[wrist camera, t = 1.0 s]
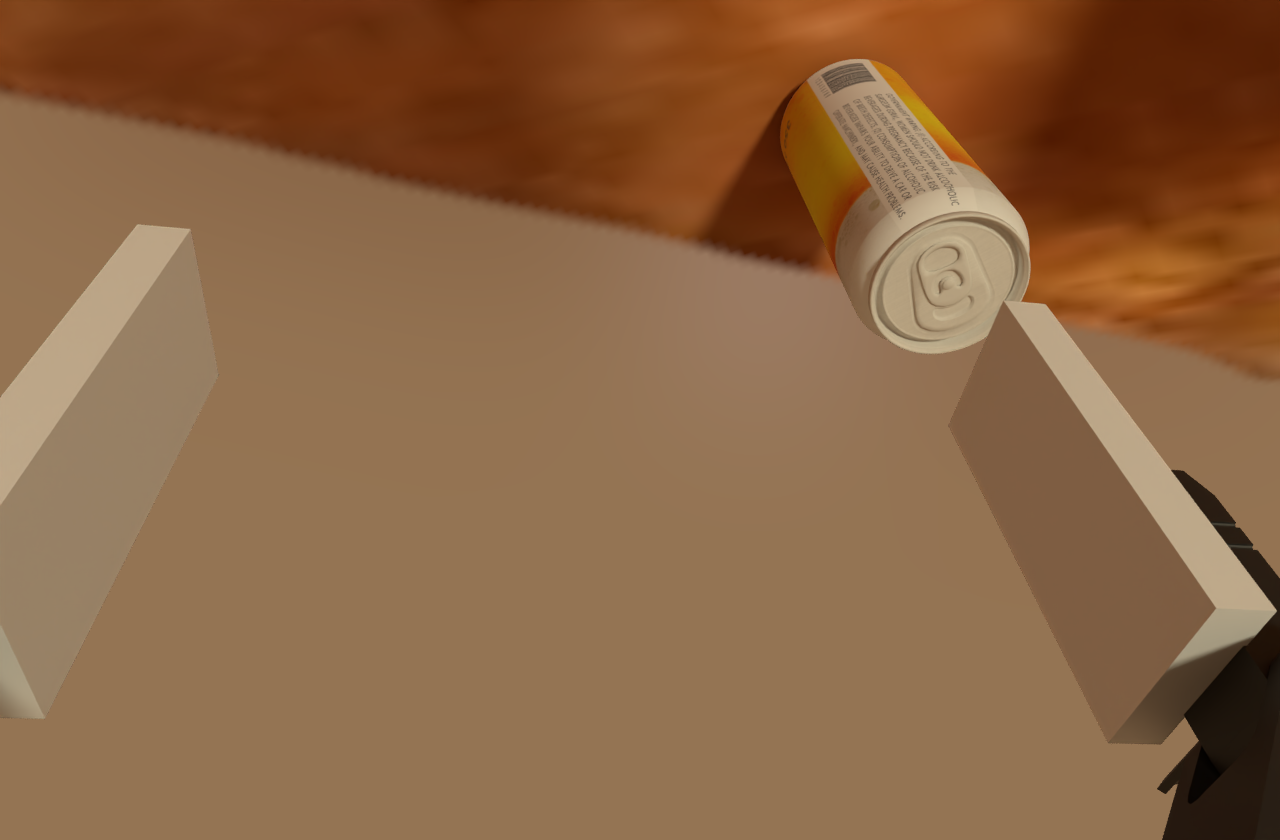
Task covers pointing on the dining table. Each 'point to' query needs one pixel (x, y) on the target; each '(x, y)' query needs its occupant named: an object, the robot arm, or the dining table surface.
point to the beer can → (902, 209)
